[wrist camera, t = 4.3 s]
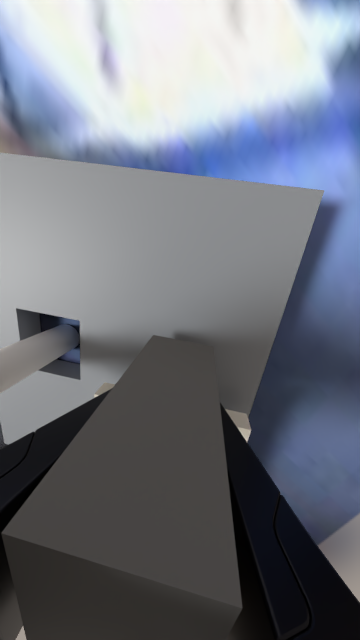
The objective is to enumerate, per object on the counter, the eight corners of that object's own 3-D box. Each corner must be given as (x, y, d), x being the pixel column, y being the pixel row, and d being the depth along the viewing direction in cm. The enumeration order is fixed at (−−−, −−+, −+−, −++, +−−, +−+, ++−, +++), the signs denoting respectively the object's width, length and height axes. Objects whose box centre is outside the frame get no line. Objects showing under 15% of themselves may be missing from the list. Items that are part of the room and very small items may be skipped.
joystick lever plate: (215, 509, 12) (229, 822, 5) (101, 478, 12) (-18, 720, 6) (265, 356, 8) (488, 685, 2) (106, 325, 9) (-159, 482, 2)
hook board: (218, 477, 14) (233, 695, 7) (22, 427, 16) (-135, 565, 8) (304, 203, 9) (835, -140, 1) (-14, 164, 10) (-591, -109, 3)
